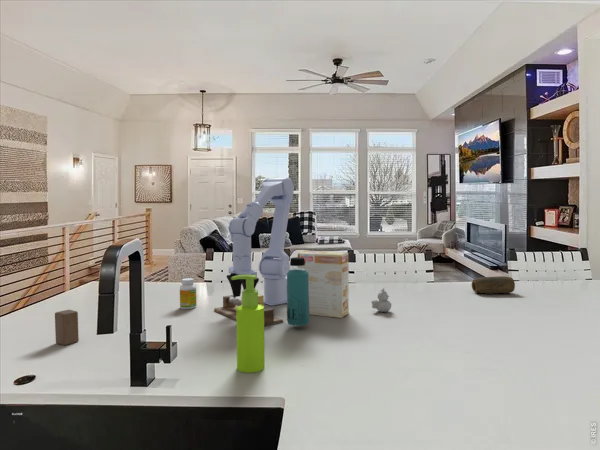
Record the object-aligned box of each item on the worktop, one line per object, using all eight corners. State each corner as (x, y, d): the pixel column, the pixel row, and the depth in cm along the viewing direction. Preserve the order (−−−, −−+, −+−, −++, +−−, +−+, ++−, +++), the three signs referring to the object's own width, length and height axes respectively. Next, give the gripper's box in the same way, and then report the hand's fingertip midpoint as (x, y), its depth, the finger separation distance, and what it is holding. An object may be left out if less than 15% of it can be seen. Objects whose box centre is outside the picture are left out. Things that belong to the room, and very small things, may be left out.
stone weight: (506, 291, 171) (506, 274, 170) (516, 295, 164) (516, 277, 163) (469, 292, 170) (469, 275, 169) (478, 296, 163) (478, 278, 162)
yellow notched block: (241, 315, 132) (241, 296, 131) (258, 312, 135) (258, 294, 135) (246, 317, 129) (246, 298, 129) (263, 314, 133) (263, 295, 132)
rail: (214, 310, 142) (214, 297, 142) (241, 306, 148) (240, 293, 148) (253, 328, 122) (253, 312, 122) (282, 322, 128) (282, 307, 128)
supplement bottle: (192, 309, 143) (191, 280, 143) (177, 309, 145) (176, 280, 144) (199, 306, 149) (198, 278, 148) (184, 305, 150) (184, 277, 149)
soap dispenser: (233, 363, 96) (231, 273, 95) (264, 362, 96) (263, 272, 95) (231, 373, 90) (229, 277, 89) (264, 372, 90) (263, 277, 89)
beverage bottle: (312, 325, 124) (312, 256, 123) (305, 332, 118) (305, 259, 117) (291, 323, 126) (290, 255, 125) (283, 330, 120) (282, 258, 119)
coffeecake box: (349, 313, 138) (349, 252, 137) (341, 318, 132) (341, 254, 131) (306, 308, 145) (306, 250, 144) (297, 313, 138) (296, 252, 137)
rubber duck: (394, 313, 138) (394, 288, 137) (374, 314, 137) (374, 289, 136) (388, 309, 143) (388, 285, 143) (368, 310, 142) (368, 285, 142)
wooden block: (63, 346, 108) (62, 314, 107) (55, 343, 110) (53, 312, 109) (79, 341, 111) (78, 310, 111) (70, 339, 113) (69, 309, 113)
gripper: (220, 254, 140) (220, 296, 140) (242, 259, 128) (242, 304, 129) (239, 252, 144) (239, 293, 144) (262, 257, 132) (263, 301, 133)
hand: (242, 298), depth 137 cm, fingers open, 7 cm apart
